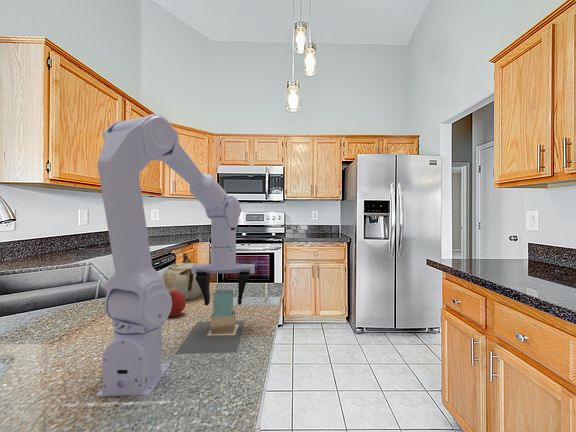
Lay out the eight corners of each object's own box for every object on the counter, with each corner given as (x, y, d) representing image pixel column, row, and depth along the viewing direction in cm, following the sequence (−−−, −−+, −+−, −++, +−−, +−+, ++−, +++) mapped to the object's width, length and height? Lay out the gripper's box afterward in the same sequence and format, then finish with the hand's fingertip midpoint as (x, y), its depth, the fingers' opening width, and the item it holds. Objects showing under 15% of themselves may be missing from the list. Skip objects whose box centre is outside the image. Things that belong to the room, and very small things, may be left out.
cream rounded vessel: (158, 293, 107) (158, 251, 107) (200, 288, 114) (201, 249, 115) (165, 308, 90) (165, 258, 90) (215, 301, 97) (215, 254, 97)
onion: (177, 322, 78) (178, 291, 78) (158, 320, 79) (158, 290, 79) (189, 314, 84) (189, 286, 84) (170, 313, 85) (171, 285, 85)
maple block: (232, 333, 69) (232, 316, 69) (210, 334, 69) (210, 316, 69) (235, 325, 74) (235, 309, 74) (214, 326, 74) (214, 309, 74)
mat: (236, 354, 59) (236, 352, 59) (174, 356, 59) (174, 353, 59) (244, 322, 77) (244, 320, 77) (197, 323, 77) (197, 321, 77)
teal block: (230, 315, 69) (230, 294, 69) (213, 315, 69) (213, 294, 69) (233, 310, 73) (233, 289, 73) (216, 310, 73) (216, 290, 73)
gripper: (255, 244, 76) (255, 298, 76) (196, 245, 75) (196, 299, 75) (253, 247, 69) (253, 307, 69) (189, 247, 68) (188, 308, 68)
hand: (223, 303), depth 71 cm, fingers open, 7 cm apart
